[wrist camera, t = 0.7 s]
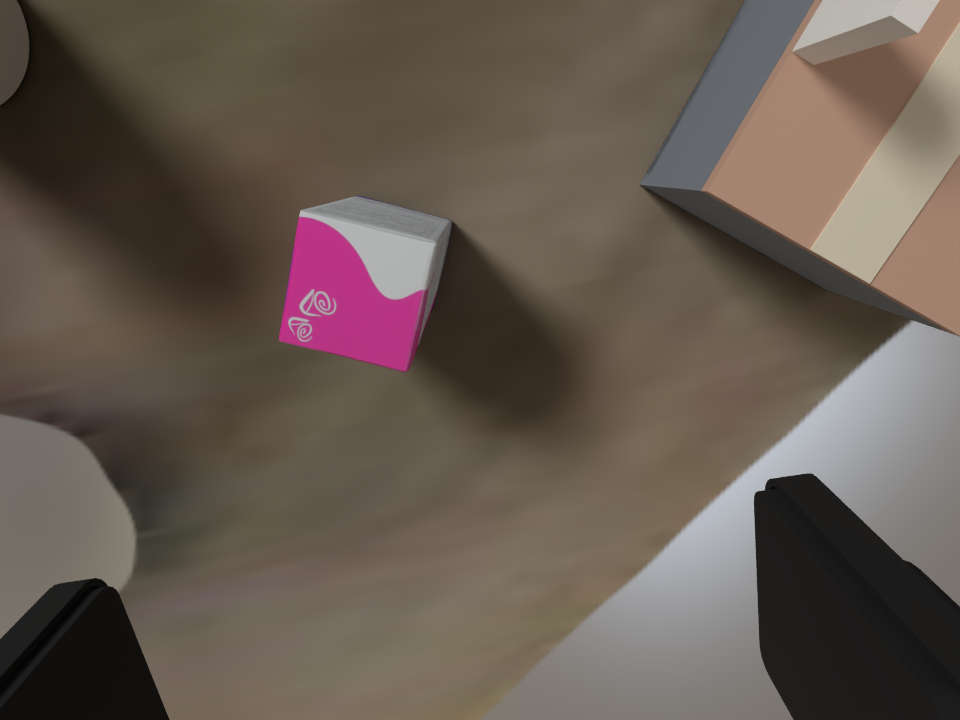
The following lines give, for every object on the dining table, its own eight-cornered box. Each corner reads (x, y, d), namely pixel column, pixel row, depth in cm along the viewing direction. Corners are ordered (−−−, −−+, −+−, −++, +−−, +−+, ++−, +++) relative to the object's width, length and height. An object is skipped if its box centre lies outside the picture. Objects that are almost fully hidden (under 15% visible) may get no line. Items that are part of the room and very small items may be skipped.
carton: (784, -70, 33) (913, -168, 23) (984, 60, 35) (1178, 20, 25) (639, 184, 36) (700, 190, 27) (828, 291, 38) (947, 332, 29)
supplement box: (351, 193, 36) (298, 203, 25) (454, 219, 37) (447, 242, 26) (331, 293, 38) (274, 344, 27) (431, 317, 38) (415, 377, 27)
